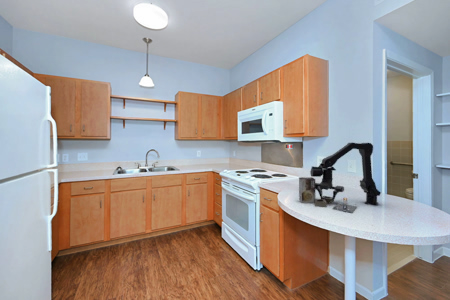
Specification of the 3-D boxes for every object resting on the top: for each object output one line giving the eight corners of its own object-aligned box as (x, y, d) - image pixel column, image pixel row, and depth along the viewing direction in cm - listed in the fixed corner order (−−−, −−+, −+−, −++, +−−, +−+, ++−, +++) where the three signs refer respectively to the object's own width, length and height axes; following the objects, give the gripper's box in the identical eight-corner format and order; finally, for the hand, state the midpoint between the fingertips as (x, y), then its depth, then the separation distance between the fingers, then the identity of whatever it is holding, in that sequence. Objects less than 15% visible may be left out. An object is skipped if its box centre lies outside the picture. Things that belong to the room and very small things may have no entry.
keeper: (338, 204, 125) (339, 194, 124) (357, 207, 118) (357, 197, 117) (332, 209, 114) (332, 199, 114) (352, 213, 108) (352, 202, 107)
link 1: (314, 203, 126) (314, 198, 126) (324, 204, 124) (324, 199, 124) (315, 206, 120) (315, 201, 120) (326, 207, 118) (326, 202, 118)
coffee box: (312, 200, 133) (312, 177, 132) (315, 203, 126) (315, 178, 126) (298, 200, 134) (298, 177, 133) (301, 202, 127) (301, 178, 127)
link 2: (323, 199, 134) (323, 195, 134) (333, 201, 129) (333, 197, 129) (320, 201, 129) (320, 197, 129) (331, 203, 125) (331, 199, 125)
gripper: (308, 176, 130) (308, 199, 130) (340, 180, 117) (339, 205, 117) (314, 174, 138) (314, 196, 138) (344, 177, 125) (344, 201, 125)
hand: (327, 199), depth 129 cm, fingers open, 7 cm apart
